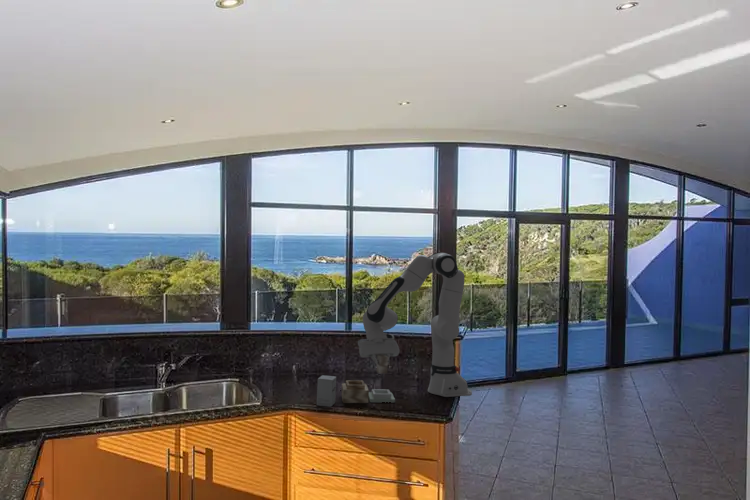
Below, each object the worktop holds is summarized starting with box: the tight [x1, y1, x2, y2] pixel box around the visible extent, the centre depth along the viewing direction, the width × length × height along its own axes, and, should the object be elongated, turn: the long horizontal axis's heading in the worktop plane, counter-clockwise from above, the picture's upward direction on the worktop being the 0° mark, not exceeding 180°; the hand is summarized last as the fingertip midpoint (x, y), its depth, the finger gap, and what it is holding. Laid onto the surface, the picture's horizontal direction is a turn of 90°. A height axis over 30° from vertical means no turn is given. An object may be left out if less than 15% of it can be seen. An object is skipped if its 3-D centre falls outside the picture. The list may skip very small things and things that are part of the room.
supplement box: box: [316, 374, 337, 408], centre depth 281 cm, size 7×7×13 cm
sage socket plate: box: [368, 388, 396, 404], centre depth 293 cm, size 12×12×4 cm
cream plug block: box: [376, 355, 389, 375], centre depth 292 cm, size 4×4×8 cm
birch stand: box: [341, 380, 370, 404], centre depth 291 cm, size 12×12×8 cm
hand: (382, 363), depth 292 cm, fingers closed on cream plug block, 4 cm apart
